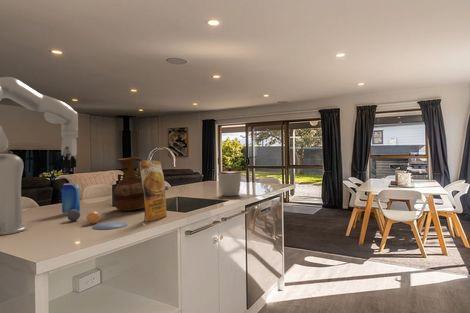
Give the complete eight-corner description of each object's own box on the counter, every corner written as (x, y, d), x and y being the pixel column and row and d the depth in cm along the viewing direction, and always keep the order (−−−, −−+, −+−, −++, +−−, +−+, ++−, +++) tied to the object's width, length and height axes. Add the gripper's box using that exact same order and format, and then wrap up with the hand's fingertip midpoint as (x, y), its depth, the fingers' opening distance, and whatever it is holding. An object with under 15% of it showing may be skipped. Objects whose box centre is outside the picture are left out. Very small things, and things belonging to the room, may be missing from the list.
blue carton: (83, 212, 163) (82, 182, 163) (73, 215, 155) (73, 184, 155) (69, 212, 164) (68, 183, 164) (58, 215, 156) (57, 184, 156)
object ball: (95, 225, 131) (95, 212, 131) (83, 224, 132) (83, 212, 132) (102, 222, 136) (102, 210, 136) (91, 222, 137) (91, 210, 137)
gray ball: (75, 222, 138) (75, 210, 138) (64, 222, 138) (64, 210, 138) (82, 219, 143) (82, 208, 143) (72, 219, 144) (72, 208, 144)
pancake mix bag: (135, 222, 136) (134, 160, 136) (160, 214, 153) (159, 159, 153) (147, 223, 133) (145, 160, 133) (171, 215, 151) (170, 159, 151)
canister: (246, 194, 225) (246, 166, 225) (233, 197, 210) (233, 167, 210) (226, 193, 235) (226, 166, 235) (213, 196, 219) (212, 167, 219)
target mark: (116, 230, 121) (116, 229, 121) (84, 229, 123) (84, 229, 123) (133, 222, 135) (133, 222, 135) (104, 222, 137) (104, 221, 137)
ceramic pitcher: (107, 210, 168) (107, 157, 168) (140, 205, 183) (139, 156, 183) (124, 214, 155) (123, 156, 155) (158, 208, 170) (157, 156, 170)
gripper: (67, 135, 163) (67, 167, 163) (55, 133, 146) (56, 167, 146) (82, 135, 165) (82, 167, 165) (72, 133, 148) (73, 167, 148)
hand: (70, 167), depth 155 cm, fingers open, 9 cm apart
